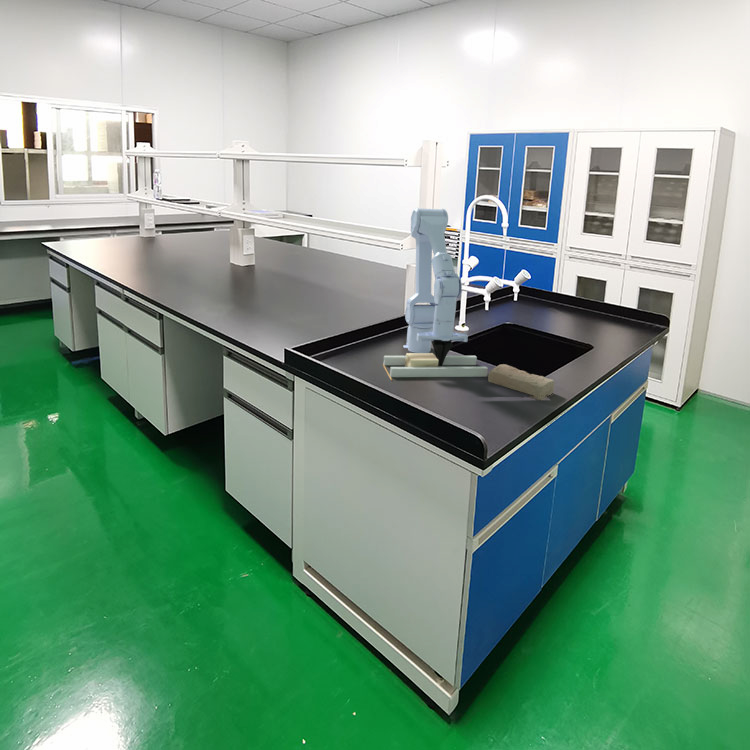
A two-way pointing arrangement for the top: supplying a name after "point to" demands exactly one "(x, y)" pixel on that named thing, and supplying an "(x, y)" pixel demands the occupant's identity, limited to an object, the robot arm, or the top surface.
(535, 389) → the brick
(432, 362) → the block
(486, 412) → the top surface
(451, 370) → the chute
